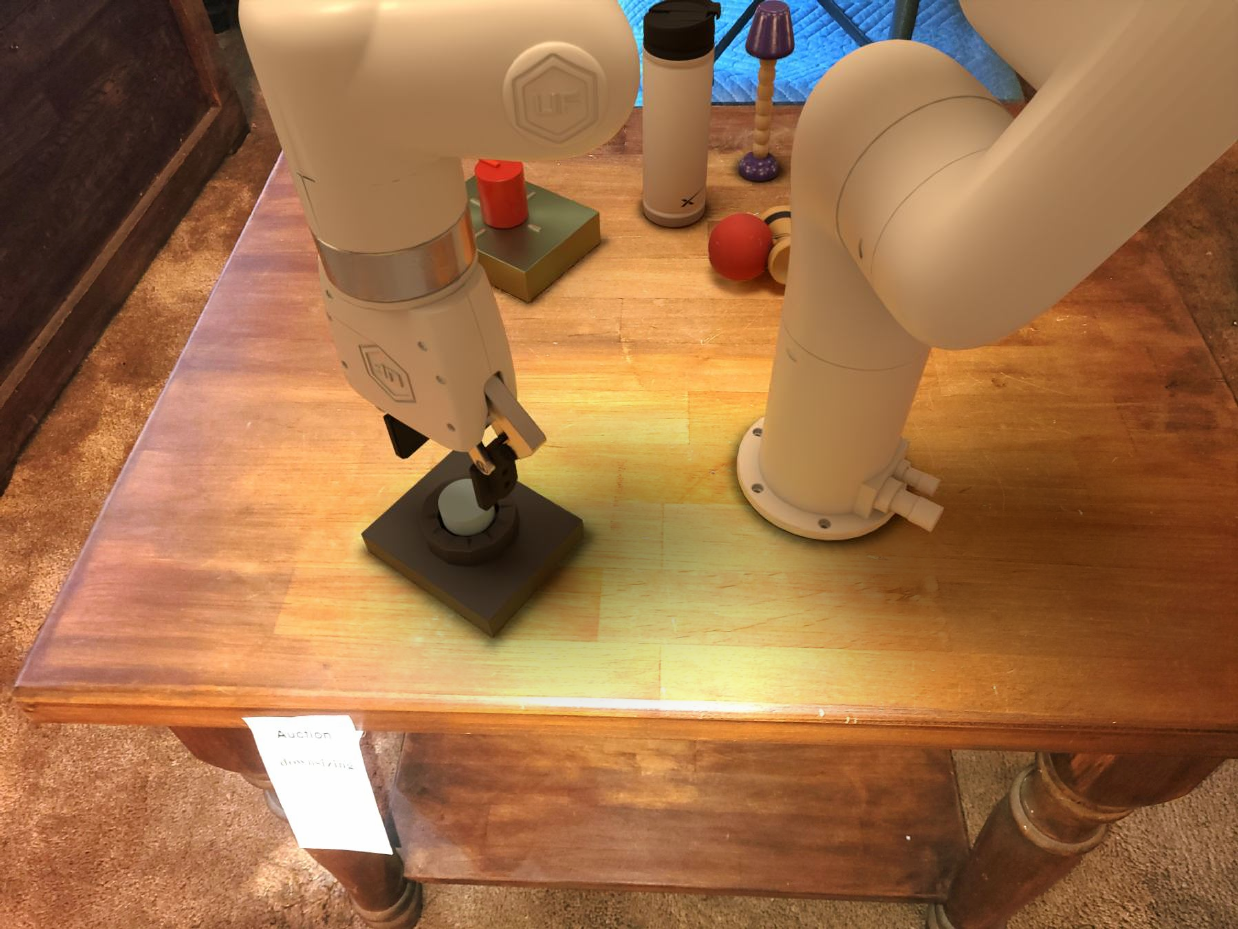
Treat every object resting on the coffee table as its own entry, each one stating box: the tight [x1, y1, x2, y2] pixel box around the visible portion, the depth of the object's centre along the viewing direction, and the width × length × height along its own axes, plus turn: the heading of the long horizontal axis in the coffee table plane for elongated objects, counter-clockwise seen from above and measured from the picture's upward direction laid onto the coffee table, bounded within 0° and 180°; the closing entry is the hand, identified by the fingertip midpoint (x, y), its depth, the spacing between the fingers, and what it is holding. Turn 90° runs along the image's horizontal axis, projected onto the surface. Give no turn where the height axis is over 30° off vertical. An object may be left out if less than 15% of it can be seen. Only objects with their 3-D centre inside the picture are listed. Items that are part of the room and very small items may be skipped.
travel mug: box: [641, 0, 722, 228], centre depth 81 cm, size 6×7×20 cm
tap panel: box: [465, 174, 602, 303], centre depth 84 cm, size 14×11×4 cm
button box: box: [360, 450, 585, 639], centre depth 62 cm, size 12×10×4 cm
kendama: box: [707, 204, 791, 286], centre depth 80 cm, size 8×6×18 cm
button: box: [438, 479, 495, 536], centre depth 60 cm, size 4×4×2 cm
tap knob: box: [473, 159, 529, 228], centre depth 81 cm, size 4×4×5 cm
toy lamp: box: [737, 0, 796, 182], centre depth 86 cm, size 5×5×17 cm
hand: (456, 467), depth 57 cm, fingers open, 6 cm apart
